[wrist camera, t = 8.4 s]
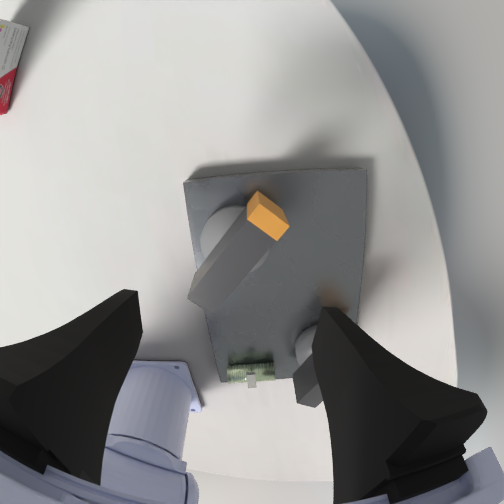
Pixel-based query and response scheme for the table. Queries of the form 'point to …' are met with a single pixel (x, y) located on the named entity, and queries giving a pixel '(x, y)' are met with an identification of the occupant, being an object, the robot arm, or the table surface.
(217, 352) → the plate
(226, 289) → the knob
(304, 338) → the knob
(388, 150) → the table surface
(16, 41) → the ink box
